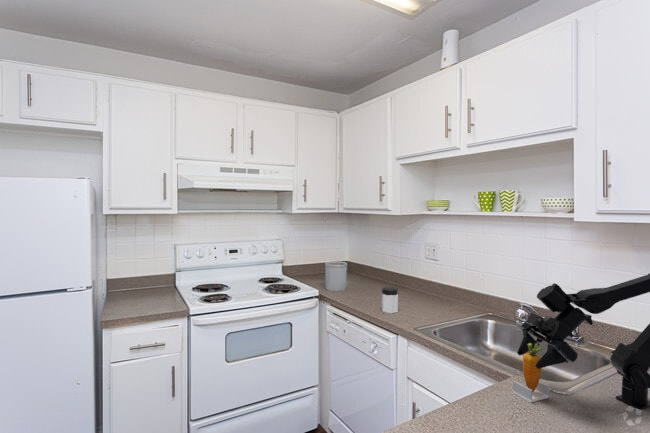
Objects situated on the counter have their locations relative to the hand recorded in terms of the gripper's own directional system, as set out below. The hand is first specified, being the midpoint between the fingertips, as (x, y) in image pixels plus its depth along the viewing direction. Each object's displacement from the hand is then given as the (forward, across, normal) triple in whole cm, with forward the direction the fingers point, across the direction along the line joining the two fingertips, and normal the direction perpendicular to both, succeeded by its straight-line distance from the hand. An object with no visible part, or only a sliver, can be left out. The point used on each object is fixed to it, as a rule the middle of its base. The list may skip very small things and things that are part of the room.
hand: (527, 360), depth 108 cm
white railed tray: (+6, 0, +8) cm, 10 cm away
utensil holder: (+41, -140, -26) cm, 148 cm away
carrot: (+6, 0, +8) cm, 10 cm away
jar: (+23, -88, -8) cm, 91 cm away
